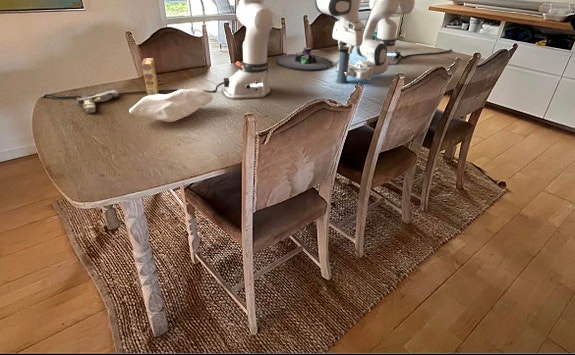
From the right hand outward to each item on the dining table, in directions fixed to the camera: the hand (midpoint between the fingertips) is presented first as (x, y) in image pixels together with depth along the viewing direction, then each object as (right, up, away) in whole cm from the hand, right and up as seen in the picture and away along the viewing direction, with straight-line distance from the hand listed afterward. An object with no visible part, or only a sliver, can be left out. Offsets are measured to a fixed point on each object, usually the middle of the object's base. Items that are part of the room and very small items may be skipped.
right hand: (341, 72), depth 190 cm
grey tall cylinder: (+1, -4, +3) cm, 5 cm away
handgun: (-108, -23, -34) cm, 116 cm away
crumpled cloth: (-76, -29, -40) cm, 90 cm away
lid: (+1, +10, -6) cm, 12 cm away
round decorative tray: (-18, +15, +32) cm, 40 cm away
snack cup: (+34, +38, +71) cm, 87 cm away
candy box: (-90, -17, -23) cm, 94 cm away
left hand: (+1, +9, -5) cm, 10 cm away
